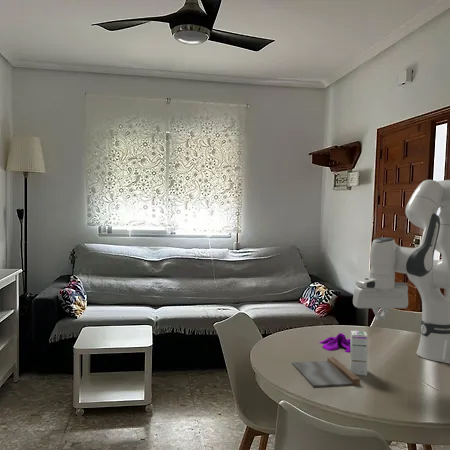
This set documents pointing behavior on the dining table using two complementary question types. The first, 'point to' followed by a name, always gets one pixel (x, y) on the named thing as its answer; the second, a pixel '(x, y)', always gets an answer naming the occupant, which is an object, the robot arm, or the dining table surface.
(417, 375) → the dining table surface
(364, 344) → the syrup box
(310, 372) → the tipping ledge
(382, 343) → the dining table surface
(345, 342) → the cloth
